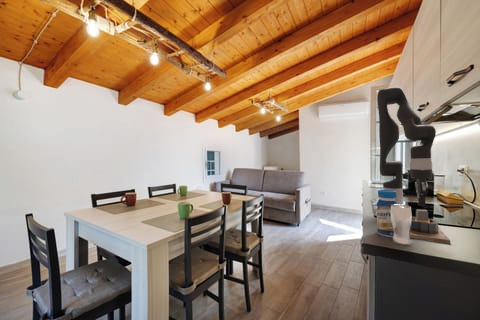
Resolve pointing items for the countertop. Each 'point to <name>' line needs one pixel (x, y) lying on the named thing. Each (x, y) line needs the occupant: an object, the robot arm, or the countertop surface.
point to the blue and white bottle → (385, 212)
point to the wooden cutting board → (431, 236)
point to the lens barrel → (424, 226)
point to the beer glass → (401, 223)
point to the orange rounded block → (422, 216)
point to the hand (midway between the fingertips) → (421, 205)
